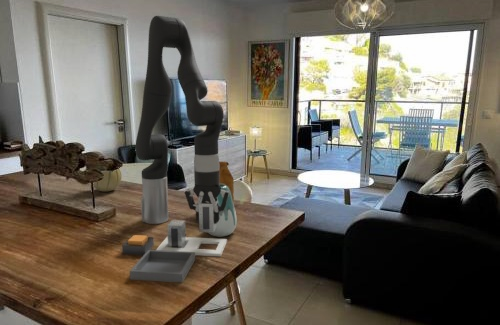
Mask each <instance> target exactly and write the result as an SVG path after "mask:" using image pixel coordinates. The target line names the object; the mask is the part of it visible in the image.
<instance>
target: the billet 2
mask: <svg viewBox="0 0 500 325" xmlns="http://www.w3.org/2000/svg"><path fill="white" fill-rule="evenodd" d="M214 212H215V211H214V205H213V203H211V202H208V201H205V202H202V203H199V223H198V226H199V227H198V228H199V233H208V232H214V231H215V229H216V224H214Z"/></svg>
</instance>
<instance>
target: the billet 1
mask: <svg viewBox="0 0 500 325" xmlns="http://www.w3.org/2000/svg"><path fill="white" fill-rule="evenodd" d="M166 226H167V229H166V230H167V236H168V247H170V248H184V247H185V246H186V244H187V243H186V237H187V232H186V220H178V219H177V220H176V219H171V221H170V222H168V224H166Z"/></svg>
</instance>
